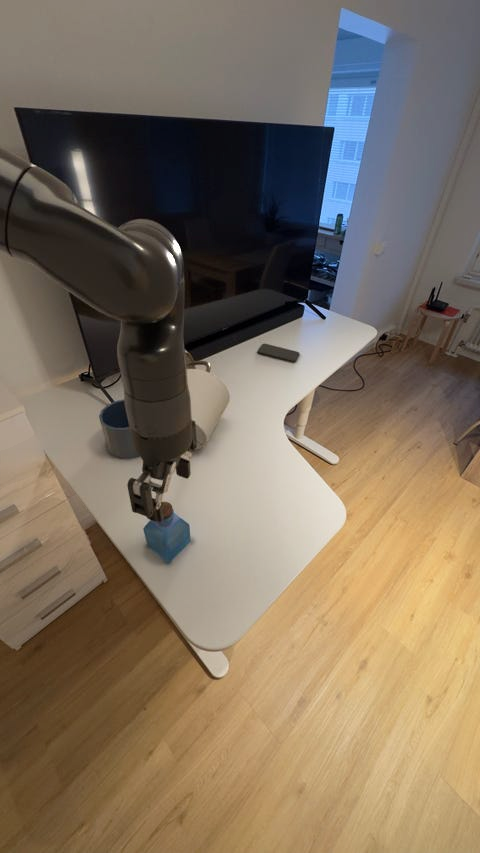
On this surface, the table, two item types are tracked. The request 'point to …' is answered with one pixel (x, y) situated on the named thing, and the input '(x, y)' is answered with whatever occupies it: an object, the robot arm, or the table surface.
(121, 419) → the holder
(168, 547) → the perfume bottle
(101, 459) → the table surface
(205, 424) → the light fixture
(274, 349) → the phone
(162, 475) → the robot arm
